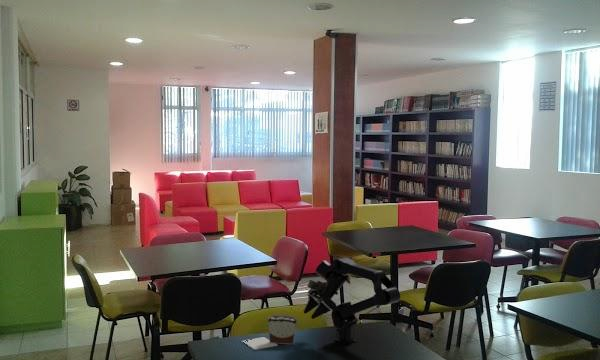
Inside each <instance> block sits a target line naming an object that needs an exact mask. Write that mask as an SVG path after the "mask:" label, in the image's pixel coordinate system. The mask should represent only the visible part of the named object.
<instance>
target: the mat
mask: <svg viewBox="0 0 600 360" xmlns="http://www.w3.org/2000/svg"><path fill="white" fill-rule="evenodd" d="M251 339H252V340H250V339H245V340H241V342H242V343H243V342H244V343H245V344H244V343H243V344H244V345H246V344H247V345H248V346H247V345H246V346H247V347H248V348H250V347H251V348H250V349H251V350H253V351H257V350H263V349H268V348H273V347H279V346H278V343H270V339H269V338H266V337H265V336H262V337H255V338H251ZM246 340H248V342H247V341H246ZM245 341H246V342H245Z"/></svg>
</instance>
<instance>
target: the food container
mask: <svg viewBox="0 0 600 360" xmlns="http://www.w3.org/2000/svg"><path fill="white" fill-rule="evenodd" d="M266 323H268V335H269V336H268V337H269V338H268V340H270V343H276V344H281V345H294V341H295V336H296V335H295V334H296V328H297V325H299V323H298V319H297V317H295V316H293V315H288V314H287V315H286V314H275V315H270V316H268V318H267V321H266Z"/></svg>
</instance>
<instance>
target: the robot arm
mask: <svg viewBox="0 0 600 360" xmlns="http://www.w3.org/2000/svg"><path fill="white" fill-rule="evenodd" d="M315 273H316V274H317V275H318V276H319V277H320V278H322V279H323V280H325V281H324V282H323V281H321V280H317V281H315V280H312V279H309V281H308V283H307V288H309V290H308V291H307V297H308V300H307V303H306V306H305V307H304V309H303V313H304V315H307V314H308V313H309V312H311V311H312V310H314V309H315V310H314V311H313V313H312V314H311V316H310V318H311V319H312V320H314V319H316V318H317V317H320V316H322V315H324V314H327V313H329V312H331V320H332V324H333V327H335V328H336V330H335V338H334V341H336V342H339V343H340V344H343V345H346V344H350V343H355V342H357V339H355V326H356V325H357V323H358V319H357V317H356V314H359V313H360V312H364V311H368V310H370V309H372V308H374V307H375V308H376V307H377V306H378V307H381V306H382V307H383V306H389V305H391V304H394V303H398V302H399V301H400V300H401V292H400V290H399V289H398V288H397V285H396V284H395V283H394V282H393V280H391V279H390V278H389V277H388V276H387V274H386V273H385V272H384V271H383V270H379V269H375V268H373V267H369V266H365V265H361V264H358V263H356V262H355V261H354V260H353V259H351V258H349V257H339V258H335V259H334V260H333V261H332V263H330V262H328V261H327V259H326V260H321V262H320V263H319V264H318V265H317V267H315ZM350 275H354V276H355V277H359V278H362V279H366V280H369V281H370V282H372V286H373V291H374V294H373V296H370V297H368V298H365V299H363V300H360V301H357V302H355V303H352V301H347V302H342V303H340V304H337V303H336V302H335V301H334V300H333V298H334V296H335V295H336V296H338V294H339V292H338V291H339V290H340V289H341V287H343V285H344V284H345V283H347V284H348V285H350V284H351V277H350ZM381 284H382V285H383V286H384V287H385V288H383V287H382V285H381Z"/></svg>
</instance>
